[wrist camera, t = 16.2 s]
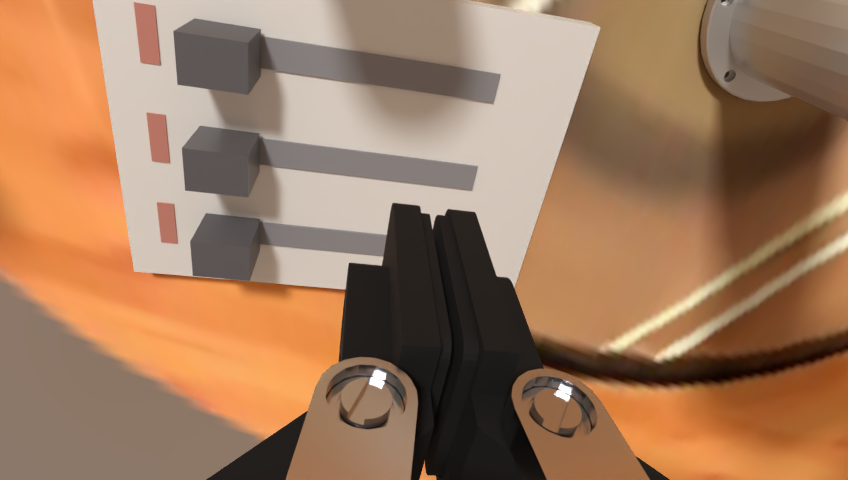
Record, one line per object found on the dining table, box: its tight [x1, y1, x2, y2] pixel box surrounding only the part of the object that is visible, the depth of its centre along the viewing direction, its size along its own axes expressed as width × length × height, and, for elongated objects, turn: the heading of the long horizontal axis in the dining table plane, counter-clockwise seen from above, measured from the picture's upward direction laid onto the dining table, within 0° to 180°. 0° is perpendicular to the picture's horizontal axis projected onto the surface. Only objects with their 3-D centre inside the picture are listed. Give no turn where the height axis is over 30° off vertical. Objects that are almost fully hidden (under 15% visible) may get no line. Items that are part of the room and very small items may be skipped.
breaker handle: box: [182, 126, 260, 197], centre depth 35 cm, size 4×3×4 cm
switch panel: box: [93, 0, 600, 290], centre depth 37 cm, size 32×24×6 cm
